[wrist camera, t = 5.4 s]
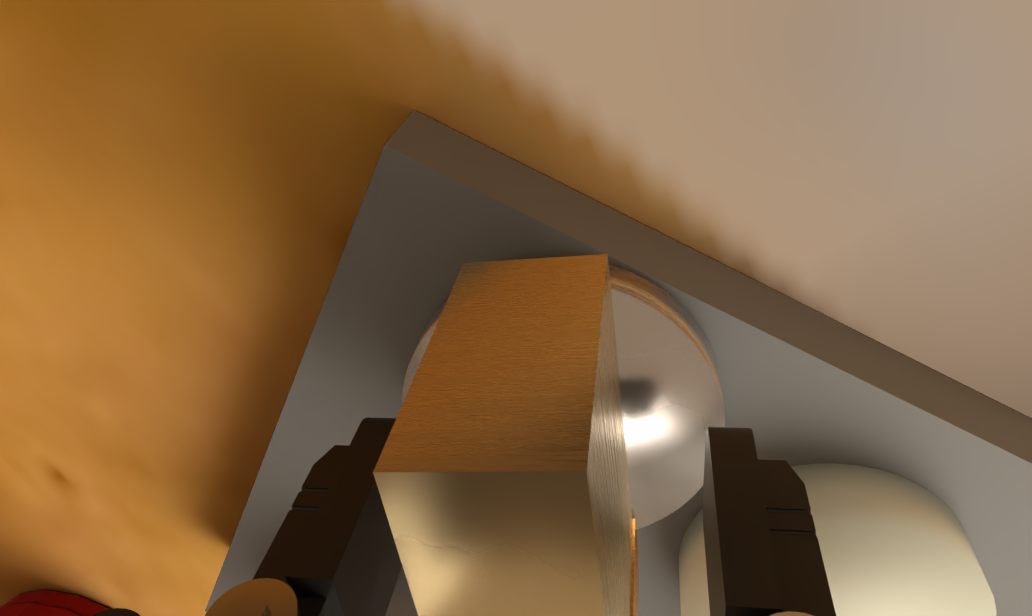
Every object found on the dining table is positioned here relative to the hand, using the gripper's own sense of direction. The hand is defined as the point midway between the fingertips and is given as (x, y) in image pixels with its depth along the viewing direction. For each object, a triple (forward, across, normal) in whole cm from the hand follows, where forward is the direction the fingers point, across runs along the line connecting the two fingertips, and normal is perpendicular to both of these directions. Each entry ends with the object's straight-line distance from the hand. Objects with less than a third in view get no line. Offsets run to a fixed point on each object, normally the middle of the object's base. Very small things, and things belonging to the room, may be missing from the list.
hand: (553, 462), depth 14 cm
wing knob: (+2, 0, 0) cm, 2 cm away
